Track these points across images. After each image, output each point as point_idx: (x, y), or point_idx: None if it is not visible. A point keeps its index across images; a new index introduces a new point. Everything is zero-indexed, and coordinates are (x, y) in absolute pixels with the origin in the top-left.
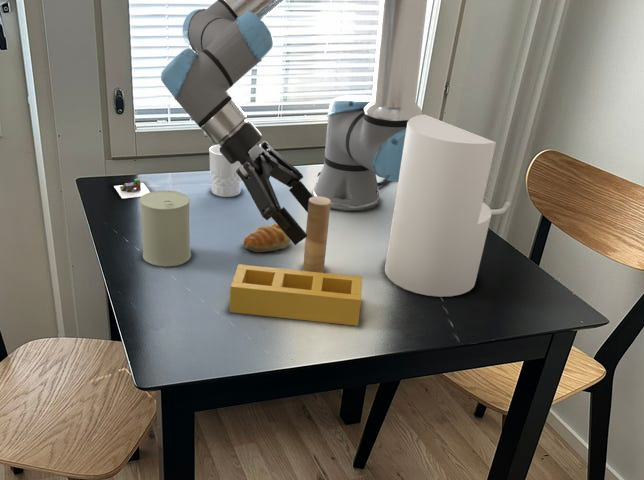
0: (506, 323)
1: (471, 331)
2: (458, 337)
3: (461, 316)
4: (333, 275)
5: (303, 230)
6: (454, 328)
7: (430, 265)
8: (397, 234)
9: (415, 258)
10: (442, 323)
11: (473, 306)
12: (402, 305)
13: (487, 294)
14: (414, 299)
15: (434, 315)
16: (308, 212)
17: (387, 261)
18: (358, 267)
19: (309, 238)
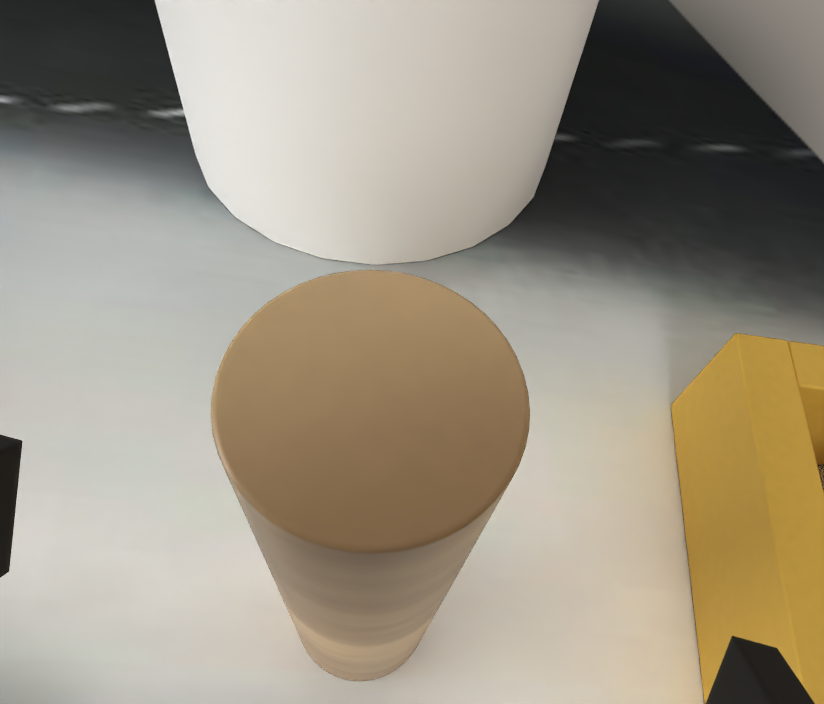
0: (663, 37)
1: (746, 113)
2: (798, 148)
3: (661, 115)
4: (788, 481)
5: (761, 680)
6: (747, 146)
7: (578, 61)
8: (467, 61)
9: (560, 85)
10: (728, 168)
11: (585, 76)
12: (644, 253)
13: None
14: (584, 209)
15: (683, 177)
16: (412, 588)
17: (379, 222)
18: None
19: (433, 613)
